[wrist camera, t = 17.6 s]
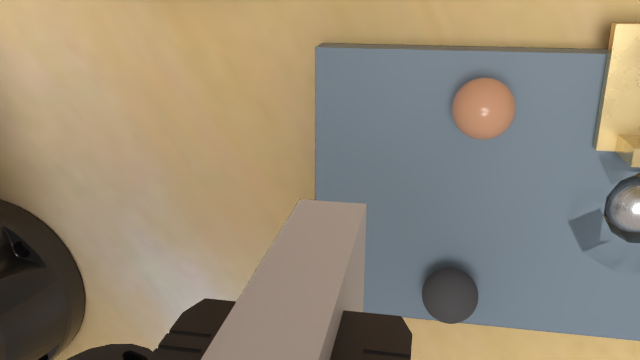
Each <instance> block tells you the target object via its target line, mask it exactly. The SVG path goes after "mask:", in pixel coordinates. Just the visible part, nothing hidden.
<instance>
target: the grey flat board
mask: <svg viewBox="0 0 640 360" xmlns="http://www.w3.org/2000/svg"><path fill="white" fill-rule="evenodd" d="M607 52H608V49H571V48H524V47H478V46H432V45H386V44H340V43H322V44H320V45H319V46H317V47H315V200H319V201H333V202H348V203H363V204H367V205H366V239H365V272H364V306H363V312H366V313H376V314H386V315H396V316H401V317H406V318H416V319H426V320H436V321H438V320H437V319H435V318H434V317H432V316H431V315H430V314H429V313H428V311H427V310H426V308H425V306H424V304H423V300H422V288H423V285H424V283H425V281H426V279H427V278H428V276H429V275H430V274H432V273H433V272H434V271H436V270H438V269H441V268H445V267H453V268H457V269H460V270H462V271H464V272H466V273H467V274H468V275H469V276H470V277H471V278H472V279H473V280H474V282H475V284H476V286H477V289H478V304H477V307H476V309H475V311H474V312H473V314H472V315H471V316H470V317H469V318H467V319H466V320H464V321H462V322H459V323H466V324H476V325H486V326H496V327H506V328H516V329H526V330H536V331H546V332H556V333H566V334H576V335H586V336H596V337H606V338H616V339H626V340H636V341H640V232H638V233H632V232H626V231H623V230H621V229H619V228H617V227H615V226H614V225H612V224H611V223H610V222H608V221H607V220H605V218H604V216H603V215H604V209H605V203H606V197H607V196H608V195H609V193H610V192H611V191H612V190H613V189H614V188H615V186H616V185H617V184H618V183H619V182H620V181H621V180H624V179H626V178H629V177H631V176H633V175H636V174H638V173H640V168H639V167H630V166H629V165H628V164H627V163H626V162H625V161H624V160H623V159H622V158H621V157H620V156H619V155H618V154H617V153H616V152H615V151H597V150H595V149H594V148H593V142H594V135H595V129H596V122H597V116H598V110H599V103H600V97H601V90H602V84H603V78H604V71H605V65H606V58H607ZM484 77H487V78H493V79H496V80H499V81H501V82H502V83H504V84H505V85H506V86H507V87H508V88H509V89H510V90H511V92H512V93H513V96H514V98H515V102H516V114H515V117H514V120H513V122H512V124H511V125H510V127H509V128H508V129H507V130H506V131H505V132H504V133H503V134H501V135H499V136H498V137H495V138H493V139H488V140H478V139H473V138H471V137H469V136H467V135H465V134H464V133H462V132H461V131H460V130H459V129H458V127H457V126H456V124H455V122H454V120H453V116H452V103H453V100H454V97H455V95H456V93H457V92H458V90H459V89H460V88H461V87H462V86H463V85H464V84H466V83H467V82H469V81H471V80H473V79H477V78H484Z"/></svg>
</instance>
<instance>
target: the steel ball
mask: <svg viewBox="0 0 640 360" xmlns="http://www.w3.org/2000/svg"><path fill="white" fill-rule="evenodd" d="M604 214H605V216H606V218H607V219H608V220H609V222H610V223H611V224H612V225H614V226H615V227H617V228H619V229H621V230H623V231H626V232H632V233H638V232H640V175H633V176H631V177H629V178H626V179H624V180H621V181H620V182H619V183H618V184H617V185H616V186H615V188H614V189H613V190H612V191H611V192H610V193H609V195H608V196H607V197H606V203H605V209H604Z"/></svg>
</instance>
